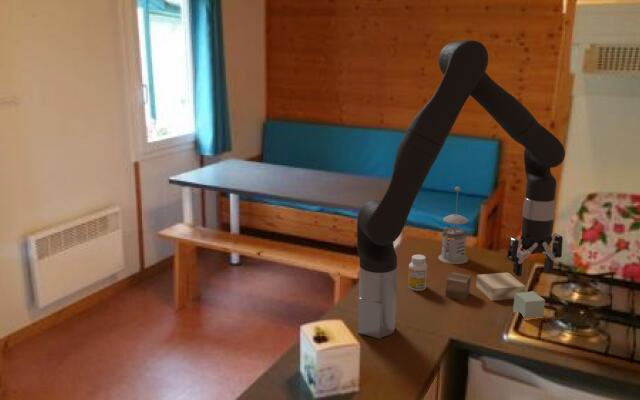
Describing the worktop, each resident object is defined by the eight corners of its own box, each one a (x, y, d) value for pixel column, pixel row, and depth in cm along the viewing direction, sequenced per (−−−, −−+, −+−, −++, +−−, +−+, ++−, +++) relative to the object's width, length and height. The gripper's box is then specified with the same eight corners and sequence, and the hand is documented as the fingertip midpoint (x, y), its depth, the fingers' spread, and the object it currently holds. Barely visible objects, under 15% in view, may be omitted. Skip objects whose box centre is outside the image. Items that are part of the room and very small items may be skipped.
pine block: (491, 301, 161) (492, 288, 160) (476, 287, 170) (476, 274, 169) (524, 299, 162) (525, 286, 161) (507, 284, 172) (508, 272, 171)
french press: (473, 258, 192) (478, 186, 185) (455, 268, 183) (460, 193, 177) (447, 251, 198) (452, 181, 191) (429, 260, 190) (433, 187, 183)
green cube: (524, 321, 149) (526, 301, 148) (513, 311, 154) (514, 293, 153) (542, 319, 150) (545, 299, 149) (531, 309, 155) (533, 291, 154)
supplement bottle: (413, 282, 173) (415, 252, 170) (429, 286, 170) (431, 256, 167) (404, 287, 169) (405, 257, 166) (420, 292, 166) (422, 261, 163)
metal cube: (464, 300, 161) (465, 282, 159) (445, 296, 163) (446, 278, 162) (469, 293, 165) (471, 276, 164) (451, 289, 168) (452, 272, 166)
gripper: (520, 221, 140) (515, 282, 144) (572, 217, 142) (565, 277, 147) (505, 212, 147) (500, 271, 151) (554, 208, 150) (548, 266, 154)
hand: (532, 274), depth 149 cm, fingers open, 8 cm apart
